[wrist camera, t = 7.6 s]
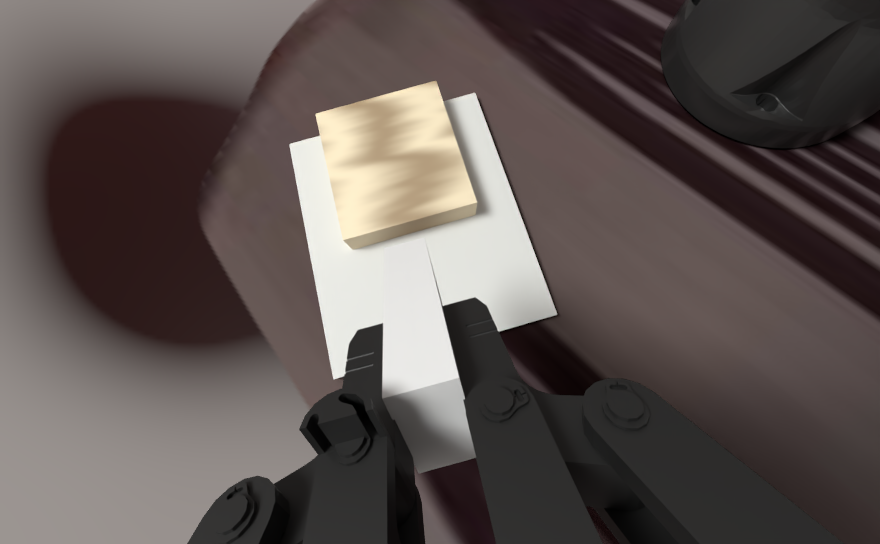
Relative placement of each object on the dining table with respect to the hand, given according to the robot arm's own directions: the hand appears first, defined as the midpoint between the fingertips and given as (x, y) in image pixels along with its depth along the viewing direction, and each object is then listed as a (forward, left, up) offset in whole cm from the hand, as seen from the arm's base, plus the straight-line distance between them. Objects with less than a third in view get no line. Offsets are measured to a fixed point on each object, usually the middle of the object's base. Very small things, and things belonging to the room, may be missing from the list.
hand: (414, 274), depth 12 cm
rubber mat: (0, -6, -10) cm, 12 cm away
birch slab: (0, -6, -9) cm, 10 cm away
